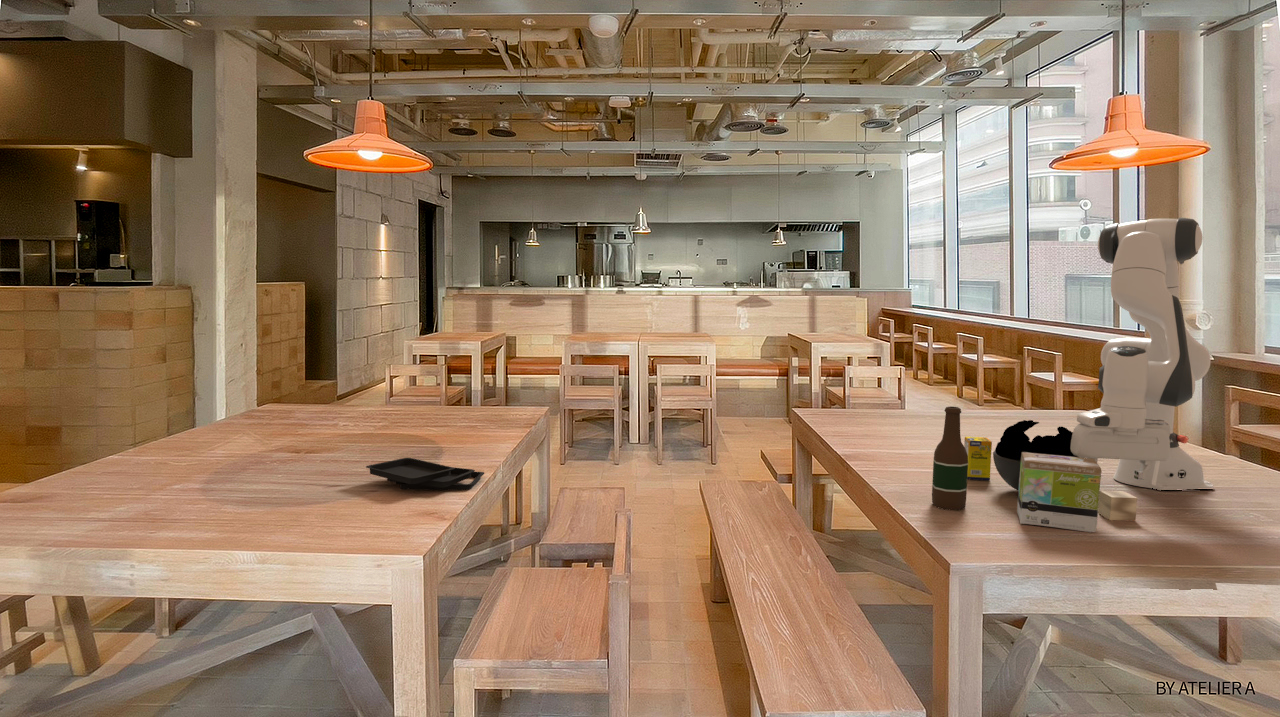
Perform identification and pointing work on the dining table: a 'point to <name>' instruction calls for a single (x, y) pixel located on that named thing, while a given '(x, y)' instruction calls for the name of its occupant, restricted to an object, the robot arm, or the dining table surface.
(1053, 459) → the tea box
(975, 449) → the supplement box
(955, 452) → the beer bottle
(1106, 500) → the oak block
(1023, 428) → the coal bowl
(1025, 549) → the dining table surface
